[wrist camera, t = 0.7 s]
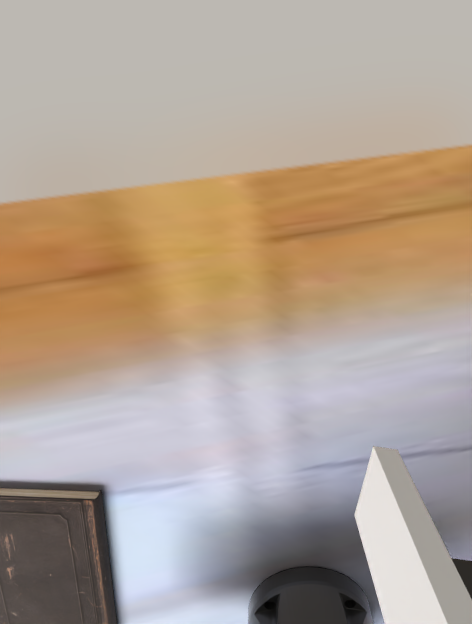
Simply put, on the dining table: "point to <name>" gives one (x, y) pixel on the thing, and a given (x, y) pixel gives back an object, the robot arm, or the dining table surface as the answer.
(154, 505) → the dining table surface
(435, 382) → the dining table surface
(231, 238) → the dining table surface
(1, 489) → the hardcover book
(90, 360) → the dining table surface
